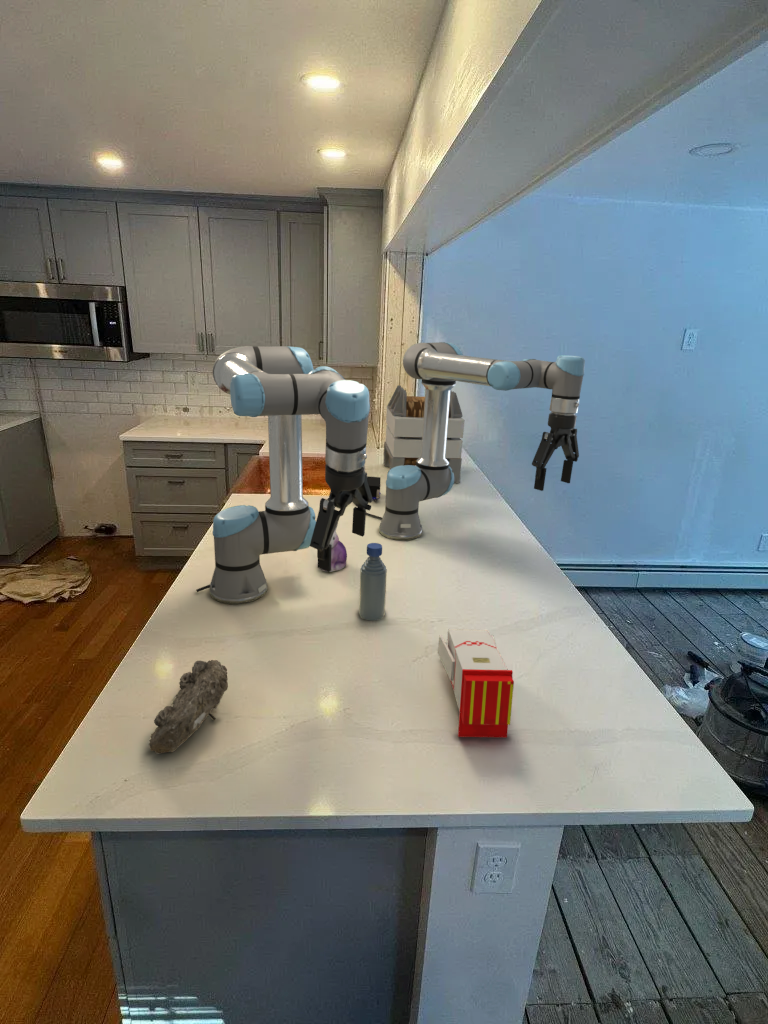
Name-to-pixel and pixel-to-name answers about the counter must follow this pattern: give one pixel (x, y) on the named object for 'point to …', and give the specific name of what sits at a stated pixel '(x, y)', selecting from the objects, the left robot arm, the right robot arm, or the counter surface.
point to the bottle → (372, 589)
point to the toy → (478, 682)
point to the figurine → (337, 553)
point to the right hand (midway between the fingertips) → (552, 485)
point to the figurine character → (374, 486)
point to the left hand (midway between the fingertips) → (341, 550)
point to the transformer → (419, 431)
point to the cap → (374, 549)
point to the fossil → (189, 705)
